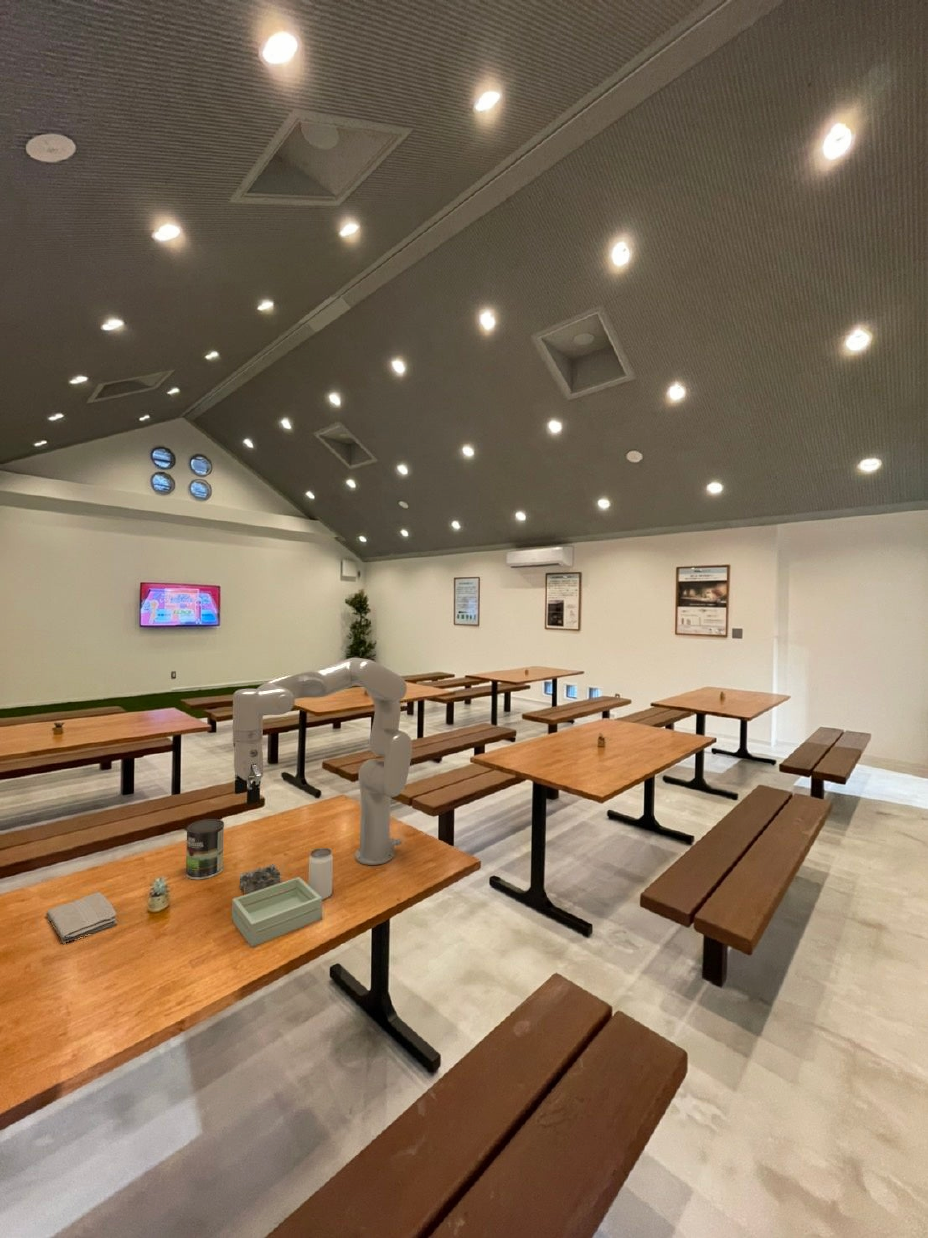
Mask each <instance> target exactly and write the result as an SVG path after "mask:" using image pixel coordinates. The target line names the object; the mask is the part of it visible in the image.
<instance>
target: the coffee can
mask: <svg viewBox="0 0 928 1238" xmlns="http://www.w3.org/2000/svg"><path fill="white" fill-rule="evenodd" d="M224 826H225V822H224V821H223V820H222V819H218V818H207V819H200V820H197V821H194V822H192V823H190V824H189V825H187V826H186V829H185V830H186V858H185V859H186V862H185V863H186V864H185V865H186V867H185V876H186V878H187V879H190V880H198V881H199V880H205V879H206V880H207V879H210V878H213V877H215V876H217V875H219V874H220V873H221V872H222V871H223V870H224V866H223V864H224V863H223V862H224V830H225V828H224Z"/></svg>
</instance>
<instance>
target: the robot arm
mask: <svg viewBox="0 0 928 1238" xmlns="http://www.w3.org/2000/svg"><path fill="white" fill-rule="evenodd" d="M354 686H358V687H362V688H364V690H365V692H366V693H367V695H368V696H369V697H370V698H371V700H372V702H373V705H374V715H373V722H372V726H371V730H370V731H371V732H370V737H369V741H368V742H369V744H368V747H369V750H370V751H371V752H372V753H373V754H375V755H377V756H379V757H382V758H384V760H382V759H379V758H369V759H367V760H365V761H364V762H363V763H362V764H361V765H360V768H359V770H358V776H357V777H358V786H359V792H360V793H359V794H360V828H359V829H360V830H359V836H360V838H359V848H358V849H357V850H356V851H355V853H354V859H355V860H356V861H357V862H358V863H359V864H363V865H368V866H378V865H382V864H385V863H388V862H389V861H391V860H393V858H394V857H395V851H394V849H393V848H395V847H396V846H400V845H402V843H403V840H402V838H401V837H399V838H396V839H395V838H394V837H390V833H391V829H390V828H391V798H394V797H398V796H399V795H400V794H401V793H402V792H403V790H404V788H405V786H406V783H407V781H408V780H407V779H408V776H409V770H410V767H411V766H410V765H411V761H412V755H413V742H412V738H411V737H410V735H409V734H408V733H406V732H405V731H402V730H399V728H400V727H399V726H400V722H401V721H400V720H401V711H402V710H401V704H400V703H401V702H400V701H401V700H403V699H404V698H405V696H406V695H407V690H408V688H407V687H408V686H407V683H406V681H405V679H404V678H403V677H402V676H401V675H399V674H398V673H395V672H394V671H392V670H390V669H388V668H387V667H386V666H383V665H382V664H380V663H378V662H376V661H374V660H372V659H369V658H360V657H349V658H347V659H343V660H341V661H337V662H335V663H333V664H328V665H326V666H324V667H320V668H316V669H313V670H308V671H303V672H299V673H294V674H291V675H286V676H282V677H280V678H276V679H274V680H270V681H268V682H264V683H263V684H260V685H259V686H258V687H257V688H242V689H237V690H236V691H235V692H234V693H233V696H232V697H233V698H232V743H234V756H233V770H234V773H235V774H234V794H235V795H239V794H244V793H246V804H247V805H249V806H250V805H254V804H258V803H260V802H261V801H260V800H261V792H260V791H261V779H262V778H263V777H264V755H263V746H262V745H263V744H262V741H263V737H264V735H263V734H264V733H263V732H264V731H263V730H264V729H263V728H264V726H263V725H264V716H265V715H266V716H267V715H268V716H270V715H273V716H278V715H279V716H280V715H284V714H287V713H289V712H290V711H292V709H293V708H294V706H295V703H296V699H303V698H304V699H306V698H307V699H309V698H313V699H314V698H316V699H317V698H324V697H329V696H330V695H333V694H336V693H338V692H342V691H343V690H346V689H348V688H351V687H354Z"/></svg>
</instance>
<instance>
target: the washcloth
mask: <svg viewBox="0 0 928 1238" xmlns="http://www.w3.org/2000/svg"><path fill="white" fill-rule="evenodd" d="M45 916H46V917H47V919H49V920H48V921H49V922H50V921H51V922H50V923H51V926H52V927H53V930H54V931H55V930H56V931H55V932H56V933H58V934H57V935H58V937H59V936H60V937H59V939H60V938H61V939H60V941H61V943H63V944H62V945H66V944H67V943H66V942H68V941H72V940H75V939H78V938H80V937H84V936H85V935H88V934H92V935H94V934H96V933H100V932H102V931H105V930H107V929H110V928H112V927H115V926H116V925H118V921H117V920H116V918H115V917H116V916H117V912H116V911H115V909H114V904H111V903H110V902H109V900H108V899H107V898H106V897H105V896H104V895H103V894H102V892H99V891H98V892H94V893H92V894H89V895H86V896H84V897H82V898H80V899H77V900H74V901H73V902H68V903H64V904H61V905H58V906H55V907H53V908H50V909H48V910H47V912H46V915H45ZM99 931H100V932H99ZM93 933H94V934H93ZM84 938H85V937H84ZM72 942H73V941H72ZM65 943H66V944H65ZM68 943H69V942H68Z"/></svg>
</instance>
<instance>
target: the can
mask: <svg viewBox="0 0 928 1238" xmlns="http://www.w3.org/2000/svg"><path fill="white" fill-rule="evenodd" d="M333 859H334V857H333V853H332V849H330V848H327V847H326V848H325V847H320V848H316V849H313V850H312V851H310V855H309V858H308V861H309V862H308V885H309V886H310V887H311V888H312V889H313V890H314V891H315V892H316V893H317V894H318V895H320V896H321V897H322V901H323V900H325V899H326V900H327V899H328V898H330V897H331V895H332V894H333V875H334V874H333V871H334V870H333V868H334V867H333V866H334V865H333V864H334V863H333V861H334V860H333Z"/></svg>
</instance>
